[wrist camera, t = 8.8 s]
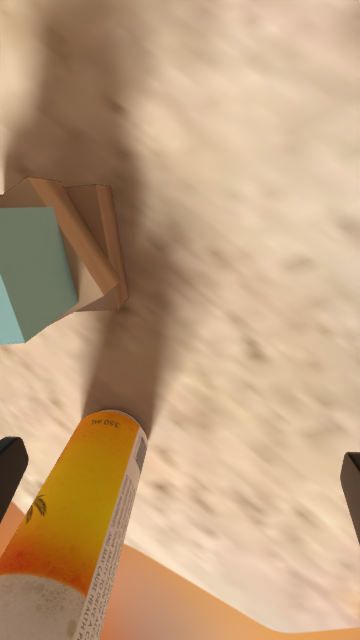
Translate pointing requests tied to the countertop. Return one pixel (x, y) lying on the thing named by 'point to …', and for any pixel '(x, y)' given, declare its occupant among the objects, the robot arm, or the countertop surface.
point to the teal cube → (32, 273)
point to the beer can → (73, 535)
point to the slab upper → (68, 238)
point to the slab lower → (102, 238)
